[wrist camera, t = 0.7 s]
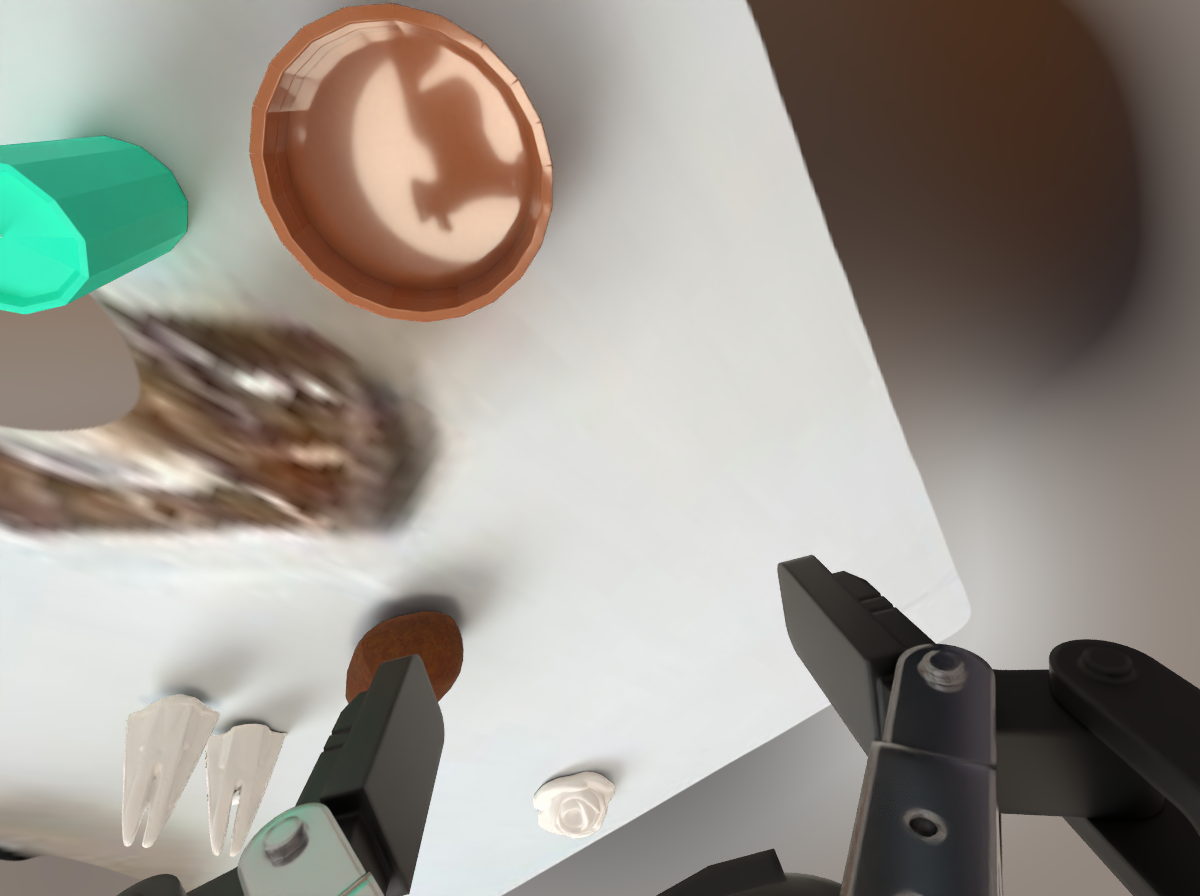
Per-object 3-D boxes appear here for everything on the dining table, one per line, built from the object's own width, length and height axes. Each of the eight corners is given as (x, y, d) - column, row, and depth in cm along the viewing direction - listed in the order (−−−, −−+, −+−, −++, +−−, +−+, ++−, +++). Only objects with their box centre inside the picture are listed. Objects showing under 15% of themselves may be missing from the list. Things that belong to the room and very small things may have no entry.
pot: (267, 259, 34) (240, 281, 30) (292, -37, 28) (262, -62, 24) (506, 322, 39) (512, 349, 34) (571, 81, 33) (589, 79, 28)
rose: (581, 864, 68) (517, 848, 63) (575, 824, 72) (513, 807, 67) (640, 817, 66) (578, 798, 61) (630, 779, 69) (571, 758, 65)
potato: (326, 649, 49) (307, 728, 43) (407, 570, 47) (400, 643, 41) (408, 684, 54) (402, 762, 47) (487, 614, 51) (492, 686, 45)
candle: (122, 112, 29) (-54, 117, 19) (215, 224, 32) (106, 280, 22) (23, 171, 30) (-201, 207, 19) (125, 276, 33) (-23, 354, 23)
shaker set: (134, 698, 48) (56, 842, 39) (171, 672, 47) (101, 812, 38) (255, 755, 54) (214, 891, 45) (290, 733, 54) (255, 866, 44)
